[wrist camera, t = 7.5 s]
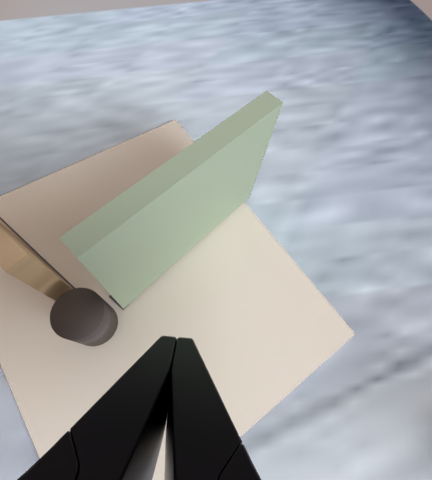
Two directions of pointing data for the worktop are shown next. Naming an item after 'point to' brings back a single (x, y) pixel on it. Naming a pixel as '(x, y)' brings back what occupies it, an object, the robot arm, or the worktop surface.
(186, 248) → the fence panel
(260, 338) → the card
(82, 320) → the tan dark-tipped bar
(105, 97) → the worktop surface
